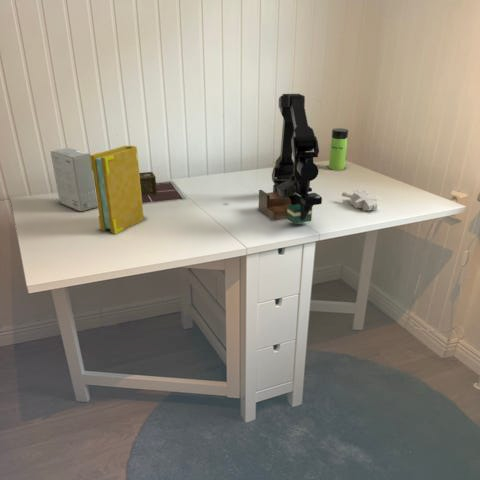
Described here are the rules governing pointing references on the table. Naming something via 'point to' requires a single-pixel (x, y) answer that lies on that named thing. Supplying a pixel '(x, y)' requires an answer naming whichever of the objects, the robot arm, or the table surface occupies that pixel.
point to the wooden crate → (156, 189)
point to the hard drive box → (74, 178)
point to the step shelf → (273, 205)
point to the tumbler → (338, 149)
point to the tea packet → (297, 214)
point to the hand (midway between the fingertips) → (299, 217)
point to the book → (117, 188)
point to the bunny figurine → (361, 200)
